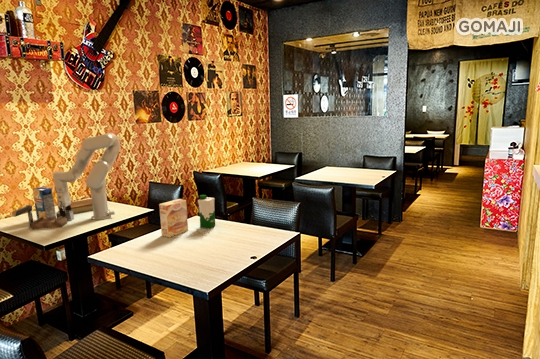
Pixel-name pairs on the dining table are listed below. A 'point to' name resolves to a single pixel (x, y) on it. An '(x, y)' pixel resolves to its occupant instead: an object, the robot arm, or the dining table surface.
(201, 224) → the milk carton
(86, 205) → the diary
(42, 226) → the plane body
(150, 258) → the dining table surface
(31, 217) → the post
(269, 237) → the dining table surface
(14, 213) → the lever
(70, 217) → the light grey block
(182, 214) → the coffeecake box
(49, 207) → the beverage box
